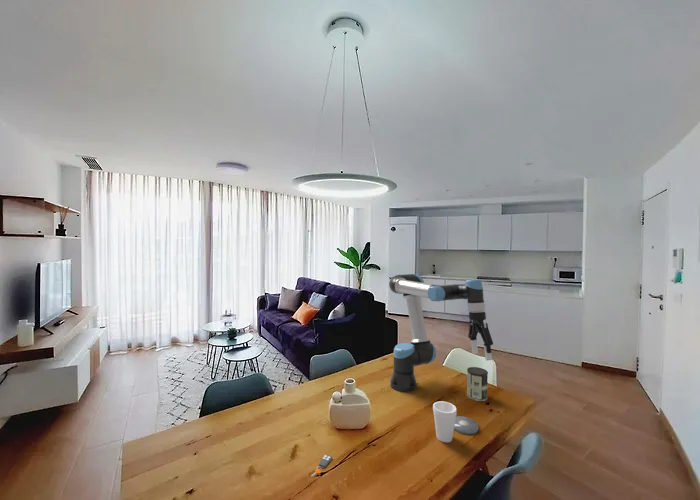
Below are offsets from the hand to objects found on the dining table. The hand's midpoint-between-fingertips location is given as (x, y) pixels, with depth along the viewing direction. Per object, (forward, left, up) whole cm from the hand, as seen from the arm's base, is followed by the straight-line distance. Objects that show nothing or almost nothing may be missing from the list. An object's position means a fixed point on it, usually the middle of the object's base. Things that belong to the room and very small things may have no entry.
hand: (481, 356), depth 145 cm
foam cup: (-20, -20, -29) cm, 40 cm away
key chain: (-67, -46, -29) cm, 86 cm away
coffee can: (+3, +20, -29) cm, 35 cm away
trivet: (-10, -10, -28) cm, 32 cm away
